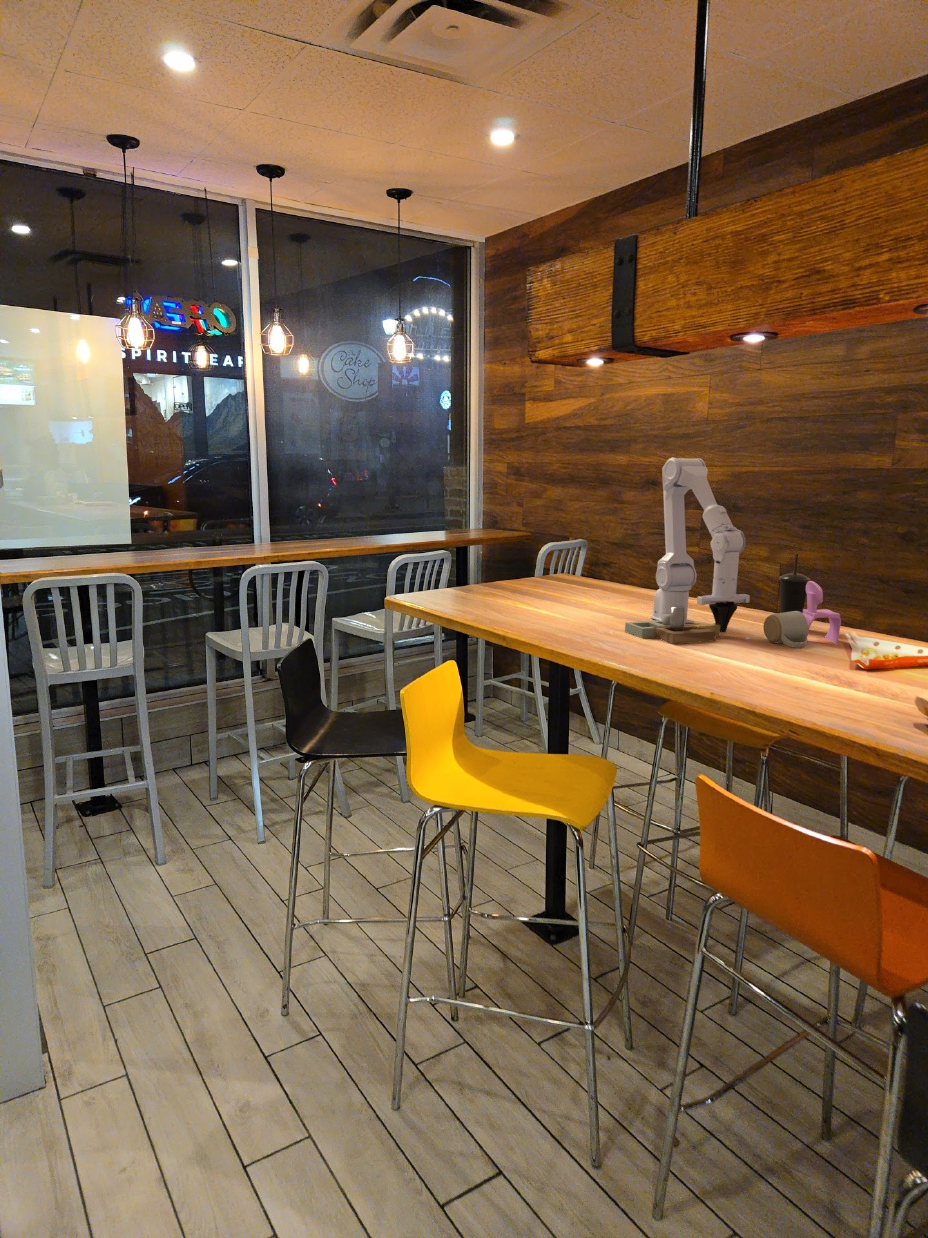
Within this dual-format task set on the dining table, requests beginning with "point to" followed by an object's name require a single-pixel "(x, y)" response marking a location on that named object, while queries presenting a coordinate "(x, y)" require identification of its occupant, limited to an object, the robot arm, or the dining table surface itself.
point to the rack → (646, 627)
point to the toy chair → (820, 611)
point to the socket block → (684, 634)
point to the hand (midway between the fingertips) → (721, 631)
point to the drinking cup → (793, 591)
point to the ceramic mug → (787, 628)
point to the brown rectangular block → (708, 627)
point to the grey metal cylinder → (677, 618)
